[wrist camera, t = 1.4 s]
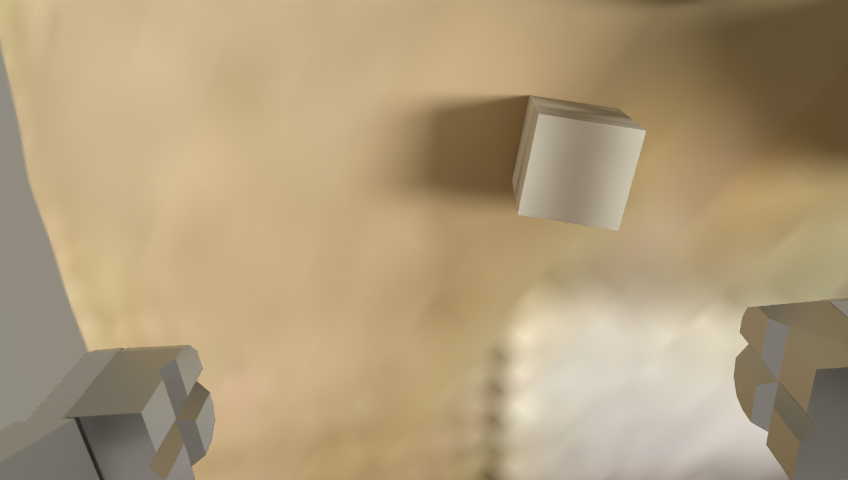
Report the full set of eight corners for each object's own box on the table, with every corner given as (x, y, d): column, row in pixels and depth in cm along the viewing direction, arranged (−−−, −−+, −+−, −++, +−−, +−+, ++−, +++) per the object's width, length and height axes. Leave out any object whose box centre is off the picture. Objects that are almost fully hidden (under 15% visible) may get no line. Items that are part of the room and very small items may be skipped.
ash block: (619, 109, 34) (646, 130, 28) (597, 194, 36) (618, 230, 30) (529, 95, 34) (538, 113, 28) (511, 181, 36) (517, 214, 30)
